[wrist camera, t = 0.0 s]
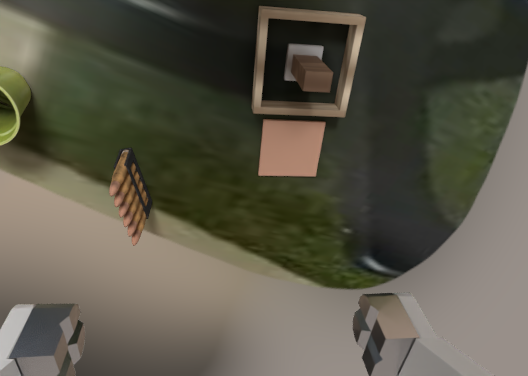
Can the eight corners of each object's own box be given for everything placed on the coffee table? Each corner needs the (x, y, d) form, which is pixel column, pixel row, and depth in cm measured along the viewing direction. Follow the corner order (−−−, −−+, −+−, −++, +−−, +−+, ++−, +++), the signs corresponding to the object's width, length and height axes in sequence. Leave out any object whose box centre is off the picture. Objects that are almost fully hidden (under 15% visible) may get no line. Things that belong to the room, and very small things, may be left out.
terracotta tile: (263, 118, 59) (263, 120, 59) (324, 121, 61) (325, 122, 60) (258, 174, 65) (258, 175, 64) (314, 174, 66) (315, 176, 66)
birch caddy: (259, 5, 51) (261, 8, 48) (358, 13, 53) (366, 17, 50) (251, 106, 58) (253, 113, 56) (339, 109, 60) (344, 117, 58)
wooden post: (287, 43, 54) (301, 60, 46) (321, 45, 55) (341, 62, 47) (283, 78, 56) (295, 100, 48) (316, 80, 57) (333, 102, 49)
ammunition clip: (152, 202, 65) (142, 248, 55) (141, 204, 65) (129, 251, 55) (131, 147, 59) (115, 188, 49) (119, 149, 59) (101, 191, 49)
